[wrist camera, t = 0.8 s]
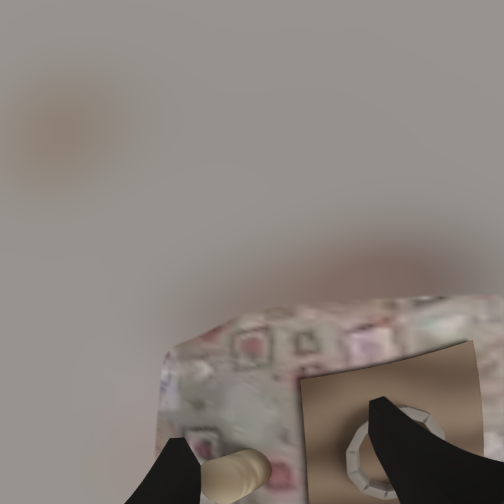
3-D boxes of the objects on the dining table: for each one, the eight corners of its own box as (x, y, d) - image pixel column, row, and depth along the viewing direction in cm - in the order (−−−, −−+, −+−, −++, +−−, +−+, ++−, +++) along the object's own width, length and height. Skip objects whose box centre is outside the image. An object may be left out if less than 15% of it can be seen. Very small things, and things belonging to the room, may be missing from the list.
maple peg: (272, 488, 23) (244, 507, 18) (232, 485, 24) (199, 500, 19) (270, 449, 25) (240, 461, 20) (229, 448, 26) (195, 457, 21)
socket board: (479, 500, 13) (485, 510, 11) (312, 527, 19) (303, 539, 17) (470, 341, 21) (478, 336, 18) (302, 379, 26) (293, 379, 24)
